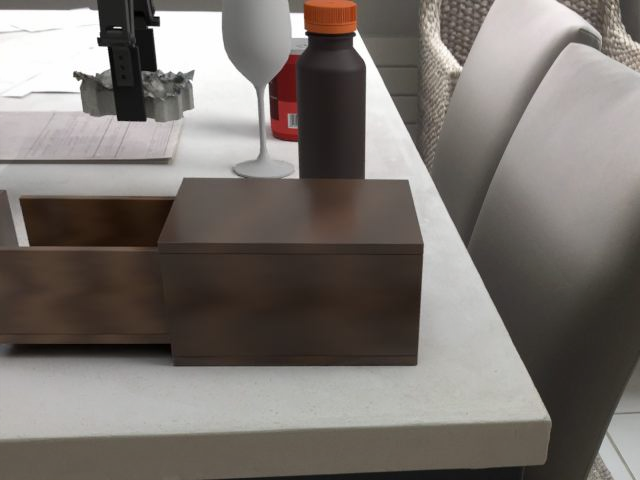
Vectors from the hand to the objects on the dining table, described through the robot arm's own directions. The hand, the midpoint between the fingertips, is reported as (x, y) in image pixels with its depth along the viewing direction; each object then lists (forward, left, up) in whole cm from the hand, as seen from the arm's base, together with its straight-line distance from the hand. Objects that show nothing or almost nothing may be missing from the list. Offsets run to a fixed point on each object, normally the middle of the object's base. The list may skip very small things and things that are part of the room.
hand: (139, 108), depth 90 cm
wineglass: (+11, +13, -10) cm, 20 cm away
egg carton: (0, 0, 0) cm, 0 cm away
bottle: (+19, -4, -10) cm, 22 cm away
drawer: (-3, -29, -9) cm, 30 cm away
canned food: (+15, +29, -10) cm, 34 cm away
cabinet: (+16, -29, -10) cm, 35 cm away
